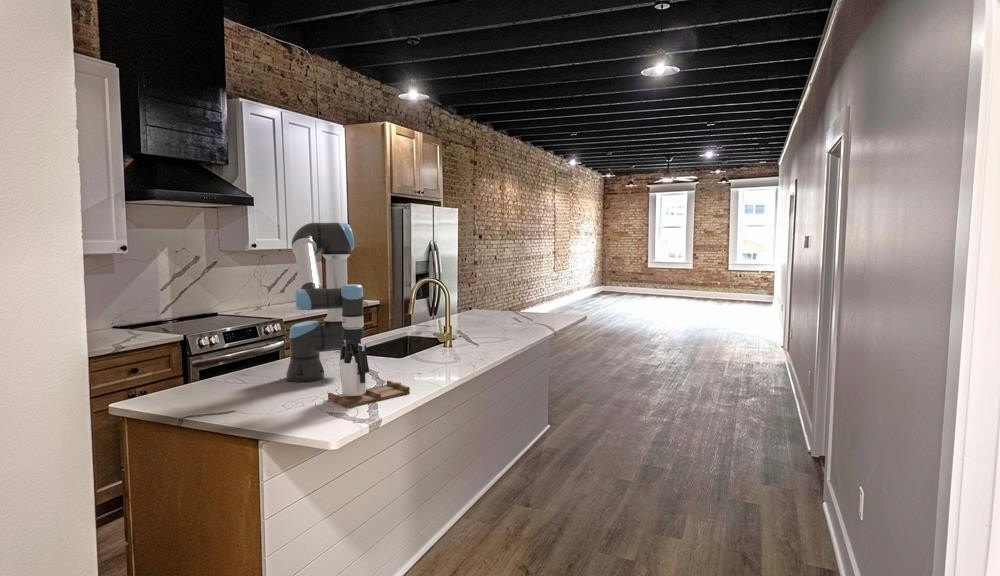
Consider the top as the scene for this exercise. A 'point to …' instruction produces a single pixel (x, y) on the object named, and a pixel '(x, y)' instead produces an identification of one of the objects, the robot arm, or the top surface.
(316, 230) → the robot arm
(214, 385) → the top surface
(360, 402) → the brown wooden flat tray
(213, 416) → the top surface
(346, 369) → the candle holder
